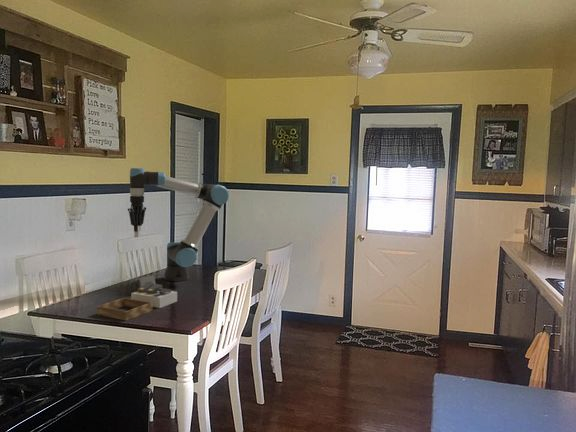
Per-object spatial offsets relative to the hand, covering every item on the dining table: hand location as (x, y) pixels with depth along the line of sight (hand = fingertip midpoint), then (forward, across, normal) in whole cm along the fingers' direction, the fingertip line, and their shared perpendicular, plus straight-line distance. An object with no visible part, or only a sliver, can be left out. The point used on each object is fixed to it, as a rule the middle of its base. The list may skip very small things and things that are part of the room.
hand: (137, 237), depth 274 cm
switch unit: (+29, +19, +28) cm, 45 cm away
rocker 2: (+22, +19, +28) cm, 40 cm away
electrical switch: (+30, +6, +12) cm, 32 cm away
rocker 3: (+22, +19, +33) cm, 44 cm away
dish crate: (+29, +40, +27) cm, 57 cm away
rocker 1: (+22, +19, +22) cm, 37 cm away
